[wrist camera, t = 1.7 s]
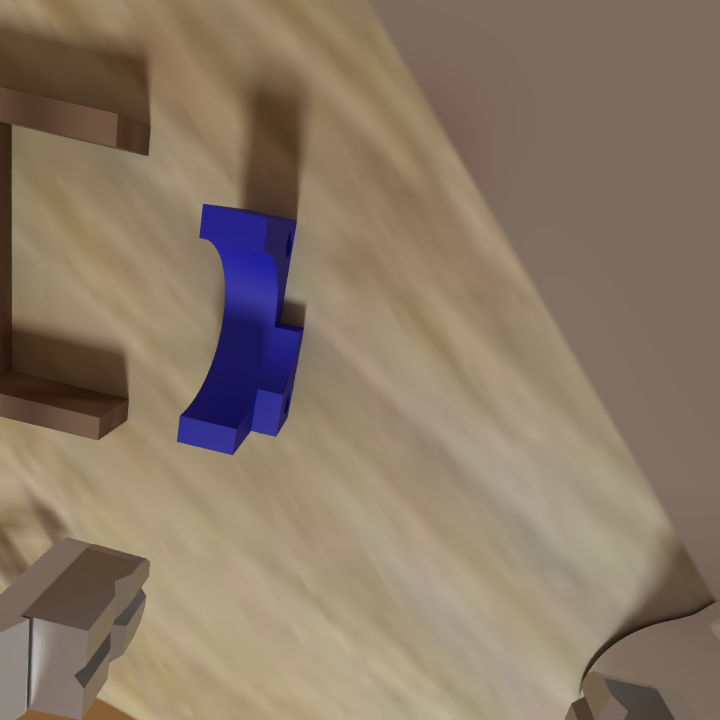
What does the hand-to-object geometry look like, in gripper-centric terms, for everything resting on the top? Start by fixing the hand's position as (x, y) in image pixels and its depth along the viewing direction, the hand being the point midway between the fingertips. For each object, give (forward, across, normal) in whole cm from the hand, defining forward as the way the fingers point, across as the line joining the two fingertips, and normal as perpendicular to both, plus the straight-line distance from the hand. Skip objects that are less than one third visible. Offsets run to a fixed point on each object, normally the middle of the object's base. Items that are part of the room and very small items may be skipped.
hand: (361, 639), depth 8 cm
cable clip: (+21, +7, 0) cm, 22 cm away
